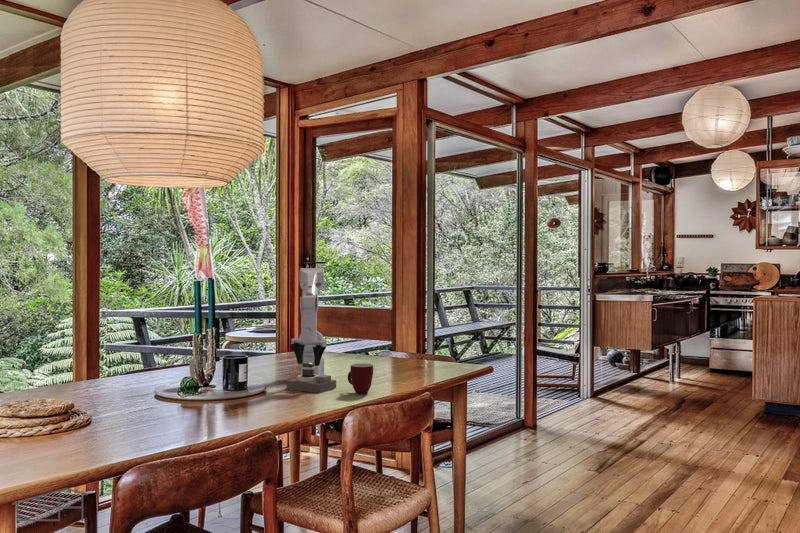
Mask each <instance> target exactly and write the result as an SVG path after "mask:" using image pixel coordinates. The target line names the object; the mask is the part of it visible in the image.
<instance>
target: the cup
mask: <svg viewBox="0 0 800 533" xmlns="http://www.w3.org/2000/svg"><path fill="white" fill-rule="evenodd" d="M193 358H194V357H192V358H189V360H188V362H189V363H188V364H189V374H190V378H191V377H195V371H194V360H193ZM203 358H204V360H203V368H204V370H206V358H207V357H203Z"/></svg>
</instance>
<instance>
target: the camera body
mask: <svg viewBox="0 0 800 533" xmlns="http://www.w3.org/2000/svg"><path fill="white" fill-rule="evenodd" d="M297 376H298V377H296V378H291V379H287V380H286V390H293V391H294V390H295V391H300V392H301V391H302V392H310V393H316V394H317V393H318V394H323V393H325V392H326V393H327V392H328V391H332V390H335V388H336V389H337V379H332V375H327V374H326V375H320V376H319V375H315V374H314V377H302V374H299V375H297Z"/></svg>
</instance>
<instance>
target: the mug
mask: <svg viewBox="0 0 800 533" xmlns="http://www.w3.org/2000/svg"><path fill="white" fill-rule="evenodd" d="M373 376H374V365H373V364H372V363H353V364H351V365H350V371H349V372H348V374H347V381H348V383H349V384H350V385H351V386H352V389H353V390H354V392H355V394H356V395H367V394H368V392H369V391H370V389H371V387H372V383H373V382H372V381H373Z"/></svg>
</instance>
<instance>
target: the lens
mask: <svg viewBox="0 0 800 533" xmlns="http://www.w3.org/2000/svg"><path fill="white" fill-rule="evenodd" d="M314 369H315V366H314V363H309V362H308V363H303V364H301V375H302V377H314Z"/></svg>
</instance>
